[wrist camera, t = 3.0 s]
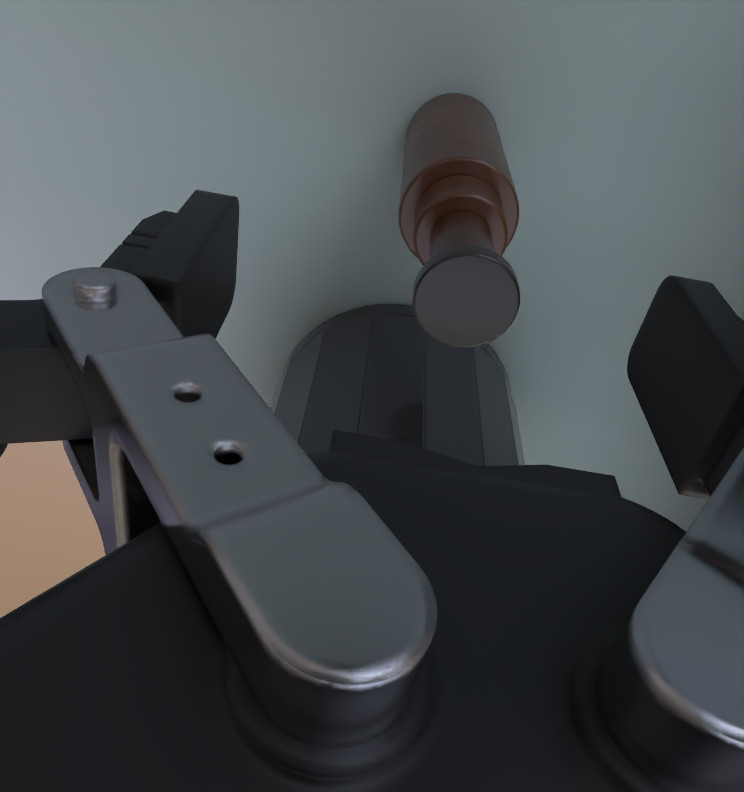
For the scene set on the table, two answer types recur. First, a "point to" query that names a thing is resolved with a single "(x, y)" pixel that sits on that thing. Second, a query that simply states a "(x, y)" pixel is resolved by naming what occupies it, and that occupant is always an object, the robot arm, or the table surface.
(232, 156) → the table surface
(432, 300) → the bat
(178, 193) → the table surface
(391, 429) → the mug
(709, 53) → the table surface
